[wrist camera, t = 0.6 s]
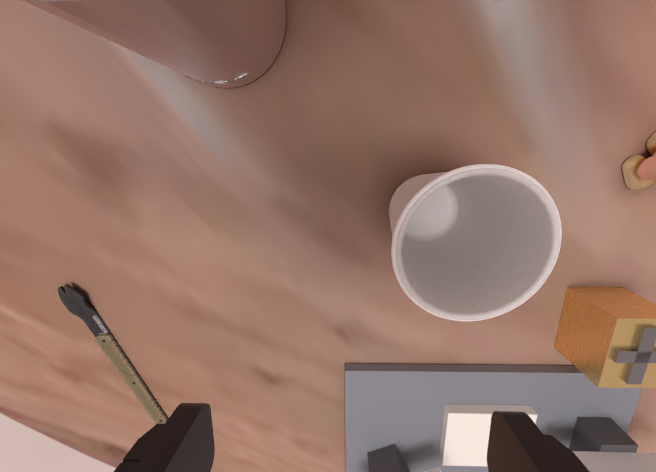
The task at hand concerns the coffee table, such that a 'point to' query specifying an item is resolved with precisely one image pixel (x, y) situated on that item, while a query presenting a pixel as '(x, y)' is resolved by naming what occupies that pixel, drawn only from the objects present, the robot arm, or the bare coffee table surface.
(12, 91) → the coffee table surface
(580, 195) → the coffee table surface
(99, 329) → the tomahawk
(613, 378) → the yellow plus-sign block
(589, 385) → the lever control panel
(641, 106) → the coffee table surface
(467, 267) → the dixie cup
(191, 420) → the robot arm
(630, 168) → the grandmother figurine
